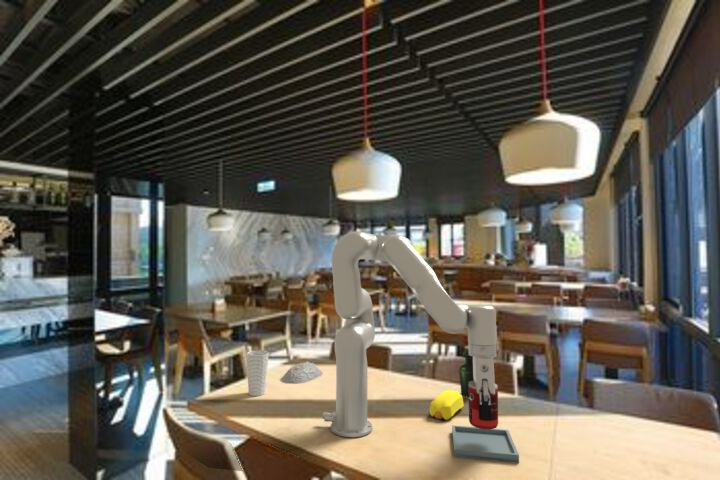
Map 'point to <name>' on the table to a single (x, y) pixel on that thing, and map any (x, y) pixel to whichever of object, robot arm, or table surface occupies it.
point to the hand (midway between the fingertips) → (483, 413)
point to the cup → (257, 371)
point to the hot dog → (446, 404)
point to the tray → (484, 444)
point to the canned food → (474, 408)
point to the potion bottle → (466, 372)
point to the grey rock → (301, 373)
